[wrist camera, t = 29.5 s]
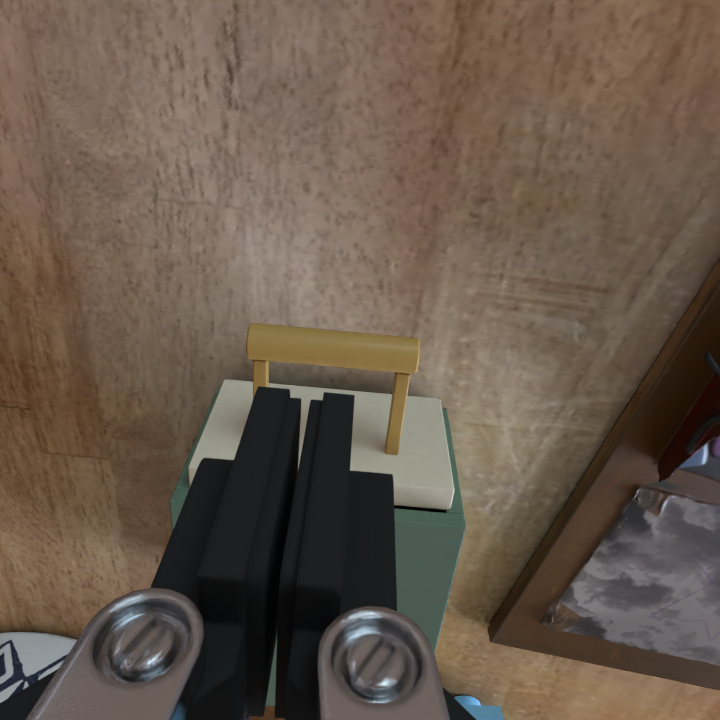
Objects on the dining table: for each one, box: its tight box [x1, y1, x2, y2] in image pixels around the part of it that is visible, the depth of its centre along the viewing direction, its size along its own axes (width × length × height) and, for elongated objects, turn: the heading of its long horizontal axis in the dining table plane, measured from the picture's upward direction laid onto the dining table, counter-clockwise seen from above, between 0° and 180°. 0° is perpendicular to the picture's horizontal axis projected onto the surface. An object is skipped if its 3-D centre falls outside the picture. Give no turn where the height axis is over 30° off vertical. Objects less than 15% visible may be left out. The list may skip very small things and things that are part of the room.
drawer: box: [188, 323, 455, 511], centre depth 31 cm, size 19×11×7 cm, turn 175°
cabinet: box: [170, 388, 466, 706], centre depth 33 cm, size 15×13×9 cm
